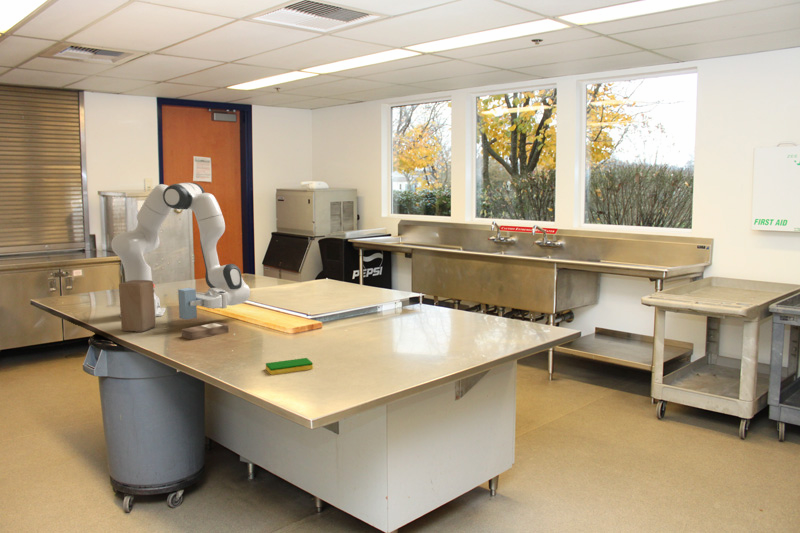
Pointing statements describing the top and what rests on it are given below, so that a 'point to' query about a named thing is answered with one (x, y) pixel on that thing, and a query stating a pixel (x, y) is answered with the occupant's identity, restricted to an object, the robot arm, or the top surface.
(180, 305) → the post
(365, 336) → the top surface
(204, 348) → the top surface
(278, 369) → the dish sponge
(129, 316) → the block
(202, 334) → the plinth
